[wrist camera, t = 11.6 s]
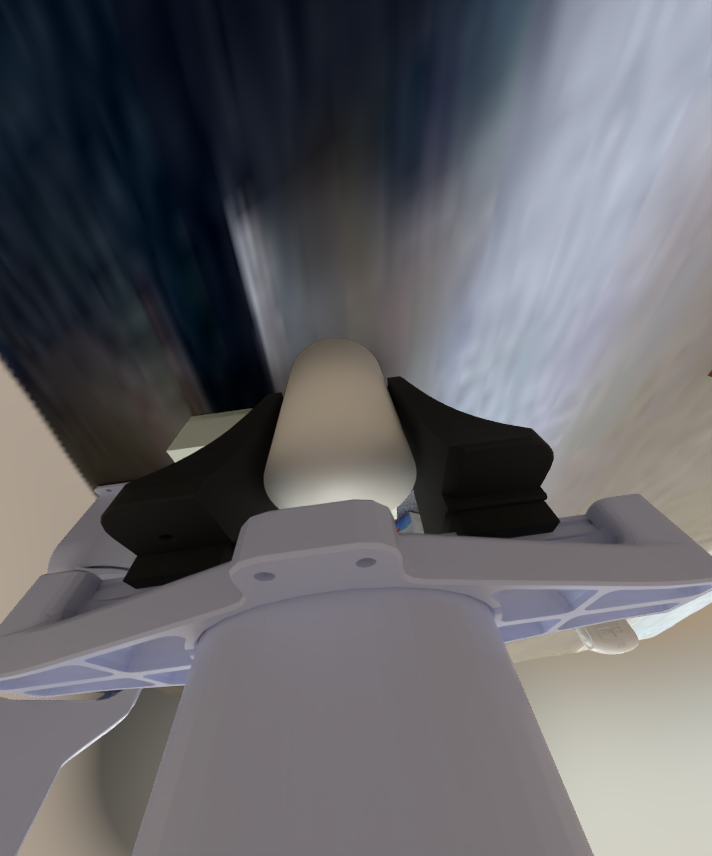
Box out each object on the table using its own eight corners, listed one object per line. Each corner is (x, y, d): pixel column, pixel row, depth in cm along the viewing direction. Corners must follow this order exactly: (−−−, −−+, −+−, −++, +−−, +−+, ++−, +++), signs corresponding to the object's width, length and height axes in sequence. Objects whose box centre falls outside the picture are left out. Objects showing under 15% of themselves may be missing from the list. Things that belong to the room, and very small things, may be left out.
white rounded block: (547, 590, 61) (588, 658, 51) (555, 582, 58) (600, 653, 48) (588, 585, 61) (636, 652, 51) (598, 578, 58) (651, 647, 49)
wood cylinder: (302, 425, 15) (287, 533, 10) (277, 345, 12) (237, 438, 7) (383, 414, 16) (413, 516, 10) (379, 331, 12) (420, 414, 7)
